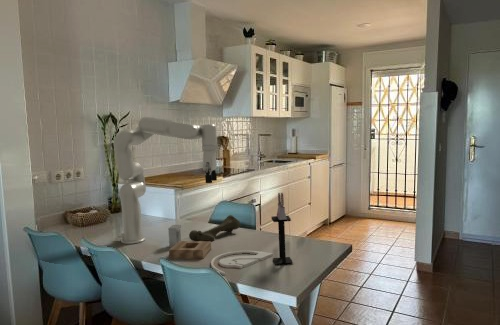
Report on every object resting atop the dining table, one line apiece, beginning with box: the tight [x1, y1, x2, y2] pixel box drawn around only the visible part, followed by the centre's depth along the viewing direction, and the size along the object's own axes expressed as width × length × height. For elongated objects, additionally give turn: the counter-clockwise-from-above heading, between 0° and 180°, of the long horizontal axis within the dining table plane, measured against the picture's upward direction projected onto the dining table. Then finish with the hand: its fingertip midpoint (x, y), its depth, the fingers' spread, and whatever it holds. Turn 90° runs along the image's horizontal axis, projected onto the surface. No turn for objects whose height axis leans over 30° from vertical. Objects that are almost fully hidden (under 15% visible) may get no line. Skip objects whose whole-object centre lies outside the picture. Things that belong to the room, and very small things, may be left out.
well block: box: [168, 240, 212, 260], centre depth 185 cm, size 16×14×4 cm
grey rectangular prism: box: [168, 224, 182, 249], centre depth 199 cm, size 4×7×10 cm, turn 171°
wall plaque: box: [210, 250, 274, 276], centre depth 173 cm, size 19×2×30 cm
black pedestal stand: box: [271, 192, 294, 266], centre depth 167 cm, size 10×8×30 cm
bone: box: [188, 214, 241, 242], centre depth 213 cm, size 10×10×30 cm
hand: (211, 181), depth 203 cm, fingers open, 9 cm apart
